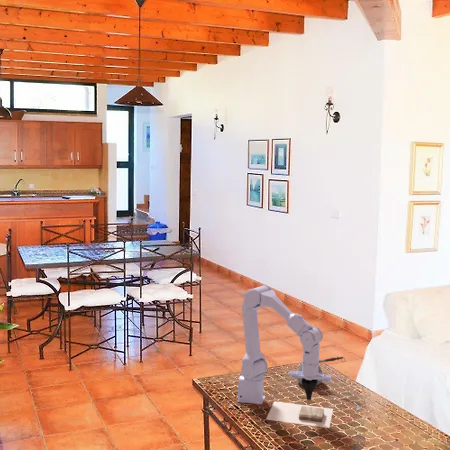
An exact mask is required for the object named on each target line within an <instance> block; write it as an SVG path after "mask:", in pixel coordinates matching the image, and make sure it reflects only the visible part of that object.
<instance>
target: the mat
mask: <svg viewBox="0 0 450 450" xmlns="http://www.w3.org/2000/svg"><path fill="white" fill-rule="evenodd" d="M302 406H306V407H314V408H322V409H324V415H323V419H322V422H315V421H307V420H300V419H299V413H300V410H301V407H302ZM333 412H334V408H329V407H323V406H322V407H320V406H313V405H305V404H298V403H290V402H283V401H275V400H274V401H273V403H272V405H271V408H270V409H269V412H268V414H267V417H266V418H265V420H268V421H276V422H282V423H288V424H295V425H304V426H311V427H317V428H318V427H319V428H325V429H326V428H327V429H330V427H331V422H332V416H333Z"/></svg>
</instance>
